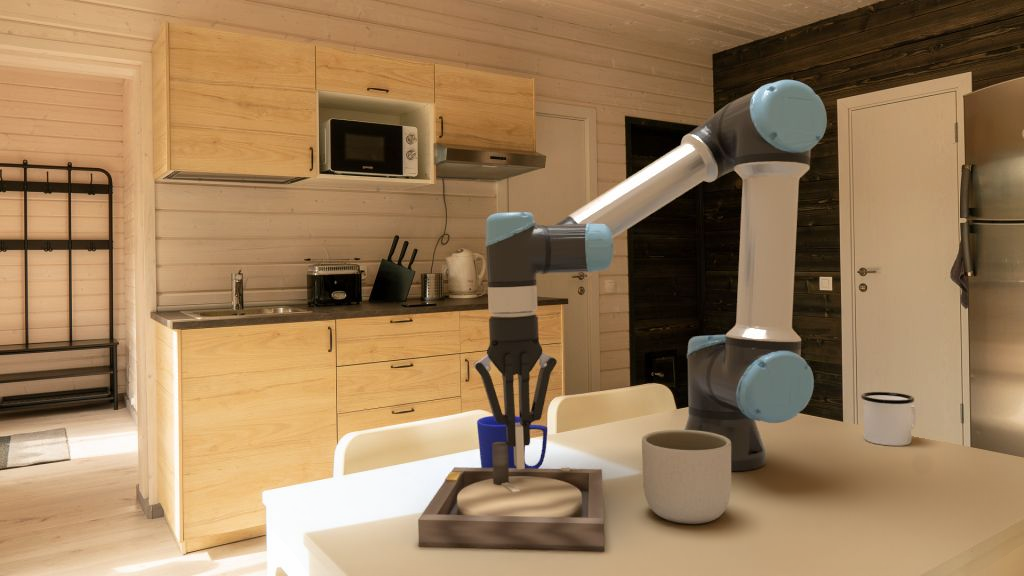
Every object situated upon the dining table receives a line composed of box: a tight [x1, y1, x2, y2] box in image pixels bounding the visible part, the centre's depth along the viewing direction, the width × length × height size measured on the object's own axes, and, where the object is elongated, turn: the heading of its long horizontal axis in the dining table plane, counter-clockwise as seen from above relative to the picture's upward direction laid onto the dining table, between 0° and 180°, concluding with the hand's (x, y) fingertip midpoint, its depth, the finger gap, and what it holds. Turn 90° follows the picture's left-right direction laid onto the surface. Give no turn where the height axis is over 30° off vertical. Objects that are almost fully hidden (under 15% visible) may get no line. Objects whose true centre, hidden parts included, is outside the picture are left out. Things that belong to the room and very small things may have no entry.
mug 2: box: [860, 391, 917, 447], centre depth 141 cm, size 12×10×9 cm
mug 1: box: [476, 415, 548, 468], centre depth 121 cm, size 8×12×10 cm
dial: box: [457, 442, 582, 518], centre depth 103 cm, size 18×18×8 cm
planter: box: [641, 429, 732, 525], centre depth 102 cm, size 12×12×11 cm
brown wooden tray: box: [417, 466, 605, 552], centre depth 103 cm, size 24×24×4 cm
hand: (519, 466), depth 109 cm, fingers closed
